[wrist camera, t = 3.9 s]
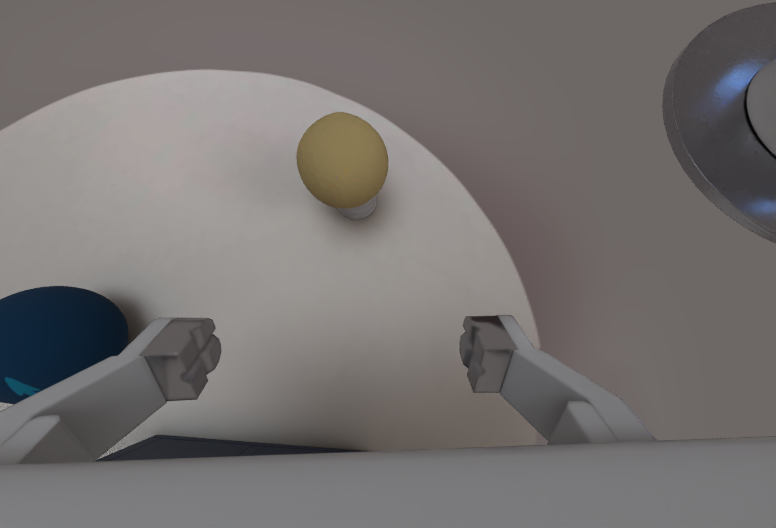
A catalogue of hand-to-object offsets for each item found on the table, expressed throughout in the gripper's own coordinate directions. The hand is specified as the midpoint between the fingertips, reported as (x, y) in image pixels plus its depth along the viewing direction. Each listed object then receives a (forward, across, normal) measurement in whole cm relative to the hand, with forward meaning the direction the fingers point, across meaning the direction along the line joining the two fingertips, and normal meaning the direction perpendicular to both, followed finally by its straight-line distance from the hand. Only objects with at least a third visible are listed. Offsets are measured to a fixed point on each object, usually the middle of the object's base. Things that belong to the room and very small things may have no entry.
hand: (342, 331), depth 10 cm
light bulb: (+20, 0, +2) cm, 20 cm away
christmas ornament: (+14, +22, +13) cm, 29 cm away
